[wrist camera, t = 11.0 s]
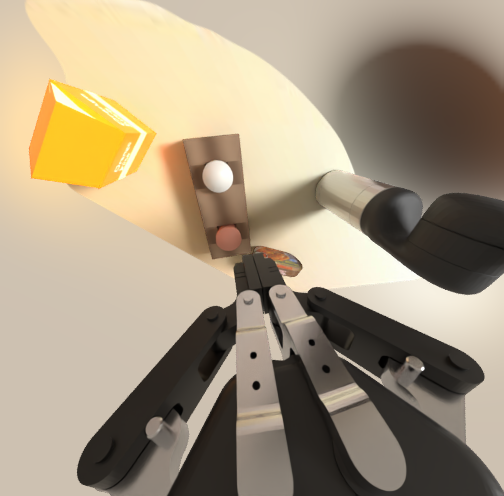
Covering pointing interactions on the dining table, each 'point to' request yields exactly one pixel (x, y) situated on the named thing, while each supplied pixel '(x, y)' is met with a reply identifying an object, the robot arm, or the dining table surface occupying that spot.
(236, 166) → the block
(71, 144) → the orange juice
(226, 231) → the brick plunger
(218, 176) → the white rounded piece
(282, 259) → the tin
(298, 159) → the dining table surface
